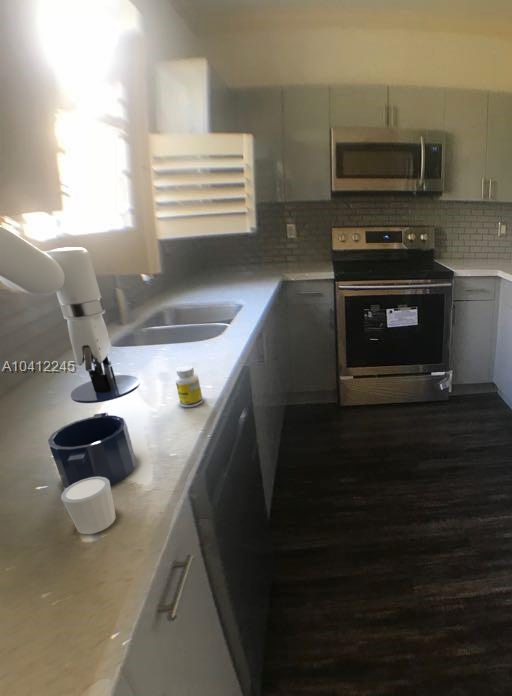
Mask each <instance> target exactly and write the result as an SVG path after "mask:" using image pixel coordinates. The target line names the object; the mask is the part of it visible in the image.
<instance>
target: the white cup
mask: <svg viewBox="0 0 512 696" xmlns="http://www.w3.org/2000/svg"><path fill="white" fill-rule="evenodd" d="M111 487H112V486H110V482H109V480H108V479H107V478H105V477H90V478H87V479H83V480H80V481H78V482H76V483H74V484H72V485H71V486H69V487H68V488H66V489H65V488H64V490H63V491H62V493H61V496H60V499H61V501H62V503H63V505H64V507H65V510H67V513H68V515H69V516H70V518H71V520H72V522H73V524H74V526H75V527H76V530H77V532H78V533H79V534H81V535H94V534H97V533H99V532H103V531H104V530H106V529H108V528H109V527H111V525H113V524H114V522H115V520H116V511H115V504H114V500H113V494H112V488H111Z"/></svg>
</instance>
